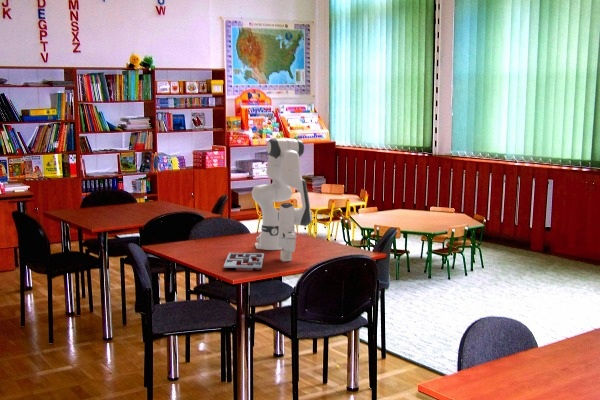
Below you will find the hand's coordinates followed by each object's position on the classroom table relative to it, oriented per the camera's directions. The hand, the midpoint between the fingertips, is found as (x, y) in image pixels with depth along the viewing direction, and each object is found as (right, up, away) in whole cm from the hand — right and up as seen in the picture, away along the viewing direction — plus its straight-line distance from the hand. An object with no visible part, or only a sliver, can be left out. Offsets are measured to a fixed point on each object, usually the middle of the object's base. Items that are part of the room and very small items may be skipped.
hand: (286, 257), depth 400 cm
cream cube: (0, -2, 0) cm, 2 cm away
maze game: (-22, -3, -12) cm, 25 cm away
